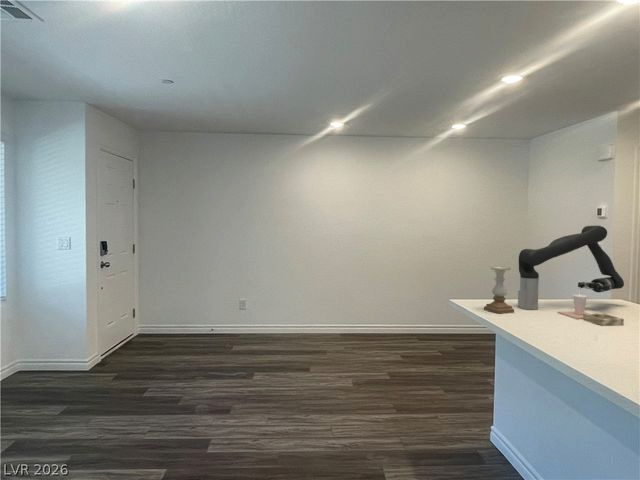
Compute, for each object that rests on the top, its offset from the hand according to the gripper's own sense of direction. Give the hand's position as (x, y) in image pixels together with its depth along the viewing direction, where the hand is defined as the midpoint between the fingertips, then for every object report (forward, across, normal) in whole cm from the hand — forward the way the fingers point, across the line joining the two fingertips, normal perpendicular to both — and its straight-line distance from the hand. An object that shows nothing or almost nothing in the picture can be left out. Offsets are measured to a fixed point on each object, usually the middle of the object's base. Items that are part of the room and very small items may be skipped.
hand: (588, 287), depth 216 cm
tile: (+11, +1, +14) cm, 18 cm away
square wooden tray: (+17, +13, +14) cm, 26 cm away
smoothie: (+11, 0, +13) cm, 17 cm away
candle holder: (+35, -30, +15) cm, 48 cm away
